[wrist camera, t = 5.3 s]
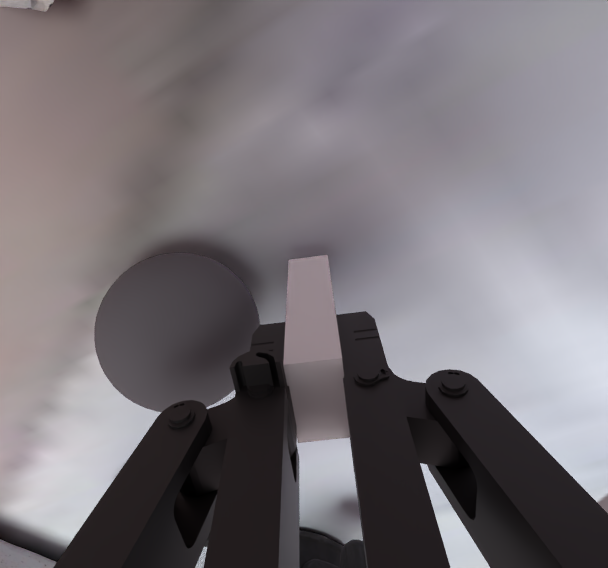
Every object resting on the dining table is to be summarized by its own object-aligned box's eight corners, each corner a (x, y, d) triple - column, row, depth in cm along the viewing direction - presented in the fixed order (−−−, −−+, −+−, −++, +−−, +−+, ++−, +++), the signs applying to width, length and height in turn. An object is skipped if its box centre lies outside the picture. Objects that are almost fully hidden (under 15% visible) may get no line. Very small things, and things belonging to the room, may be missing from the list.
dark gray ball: (100, 343, 12) (40, 284, 16) (179, 479, 15) (112, 400, 19) (268, 242, 15) (181, 214, 19) (306, 373, 18) (224, 324, 22)
